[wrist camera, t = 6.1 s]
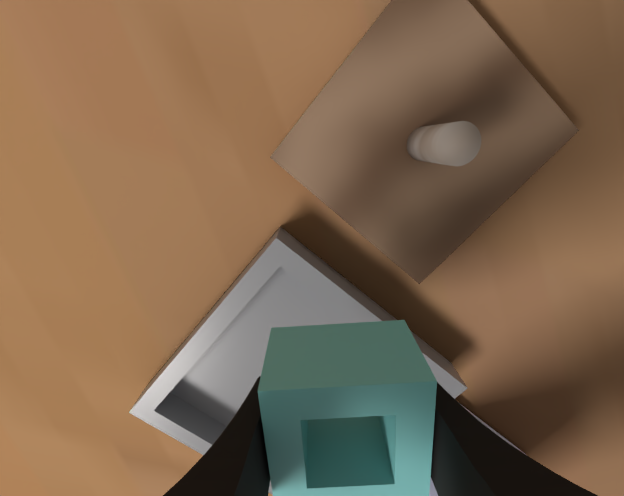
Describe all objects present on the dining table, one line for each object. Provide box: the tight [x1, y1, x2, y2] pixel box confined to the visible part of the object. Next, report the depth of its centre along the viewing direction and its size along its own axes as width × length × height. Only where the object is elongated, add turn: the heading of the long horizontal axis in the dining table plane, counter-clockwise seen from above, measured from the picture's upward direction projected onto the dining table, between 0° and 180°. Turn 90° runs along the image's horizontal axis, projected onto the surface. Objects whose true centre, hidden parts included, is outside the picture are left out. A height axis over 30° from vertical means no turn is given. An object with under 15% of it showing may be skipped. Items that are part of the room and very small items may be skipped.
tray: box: [129, 227, 467, 495], centre depth 22 cm, size 16×16×2 cm
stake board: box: [270, 0, 579, 284], centre depth 16 cm, size 12×12×6 cm
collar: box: [258, 320, 437, 496], centre depth 12 cm, size 5×5×4 cm
